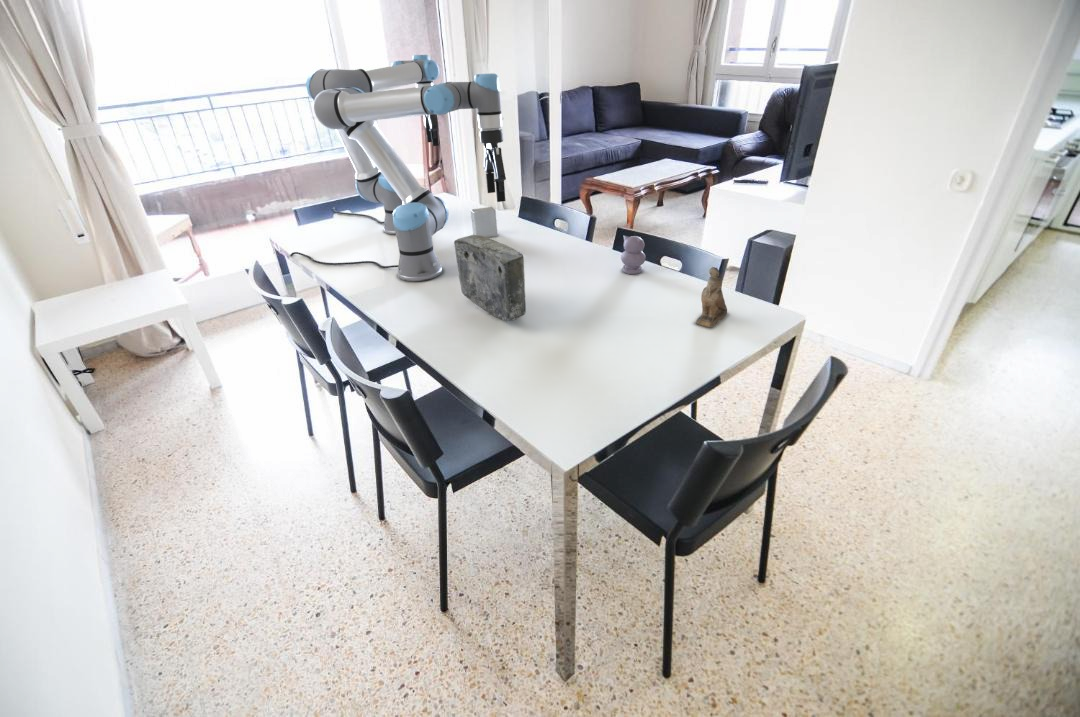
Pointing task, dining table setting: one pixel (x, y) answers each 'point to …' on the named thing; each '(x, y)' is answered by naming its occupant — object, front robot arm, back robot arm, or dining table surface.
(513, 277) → the concrete block
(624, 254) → the cat figurine
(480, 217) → the brick
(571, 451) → the dining table surface
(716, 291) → the worn brown figurine
